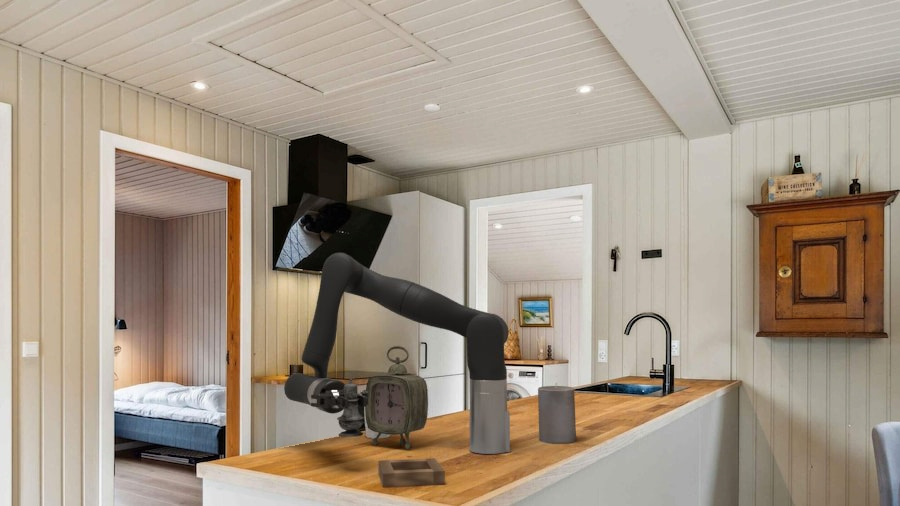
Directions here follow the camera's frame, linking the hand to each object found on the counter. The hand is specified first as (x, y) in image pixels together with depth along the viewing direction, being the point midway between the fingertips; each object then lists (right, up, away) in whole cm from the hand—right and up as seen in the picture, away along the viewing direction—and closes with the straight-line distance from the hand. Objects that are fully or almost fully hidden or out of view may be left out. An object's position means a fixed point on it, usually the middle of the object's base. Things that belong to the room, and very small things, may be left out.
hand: (355, 402), depth 139 cm
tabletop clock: (+7, -17, +28) cm, 33 cm away
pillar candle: (+48, -18, +34) cm, 62 cm away
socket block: (+12, -14, -7) cm, 19 cm away
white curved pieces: (0, -19, +41) cm, 45 cm away
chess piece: (-1, -7, +2) cm, 8 cm away
